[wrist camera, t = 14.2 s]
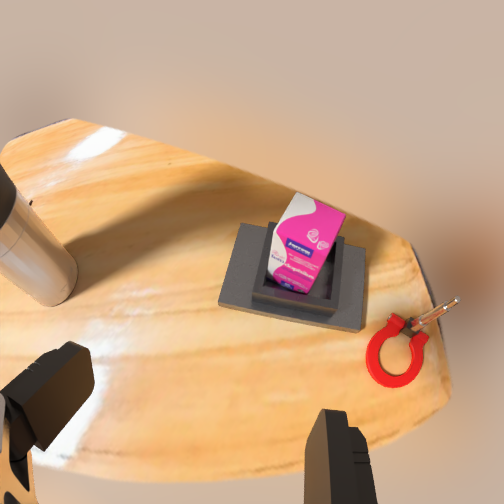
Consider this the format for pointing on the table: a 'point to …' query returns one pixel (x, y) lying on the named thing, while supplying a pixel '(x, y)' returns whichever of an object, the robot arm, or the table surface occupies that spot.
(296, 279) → the supplement box
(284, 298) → the socket plate
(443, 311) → the tow hook
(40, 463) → the table surface
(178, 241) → the table surface
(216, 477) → the table surface
